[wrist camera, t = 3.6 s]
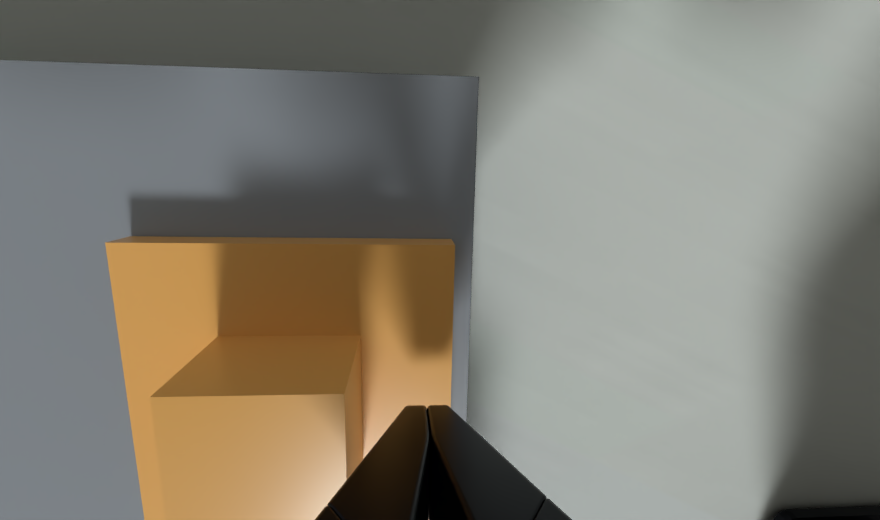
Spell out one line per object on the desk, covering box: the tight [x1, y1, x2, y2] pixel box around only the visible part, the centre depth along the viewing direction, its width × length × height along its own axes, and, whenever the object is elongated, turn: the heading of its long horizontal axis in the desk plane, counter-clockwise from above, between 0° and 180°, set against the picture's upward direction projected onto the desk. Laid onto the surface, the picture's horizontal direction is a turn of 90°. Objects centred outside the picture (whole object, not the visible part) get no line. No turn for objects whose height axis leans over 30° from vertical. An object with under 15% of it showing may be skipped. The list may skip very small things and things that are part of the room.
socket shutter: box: [105, 236, 455, 520], centre depth 9 cm, size 7×7×3 cm
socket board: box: [0, 60, 479, 520], centre depth 12 cm, size 15×14×3 cm
